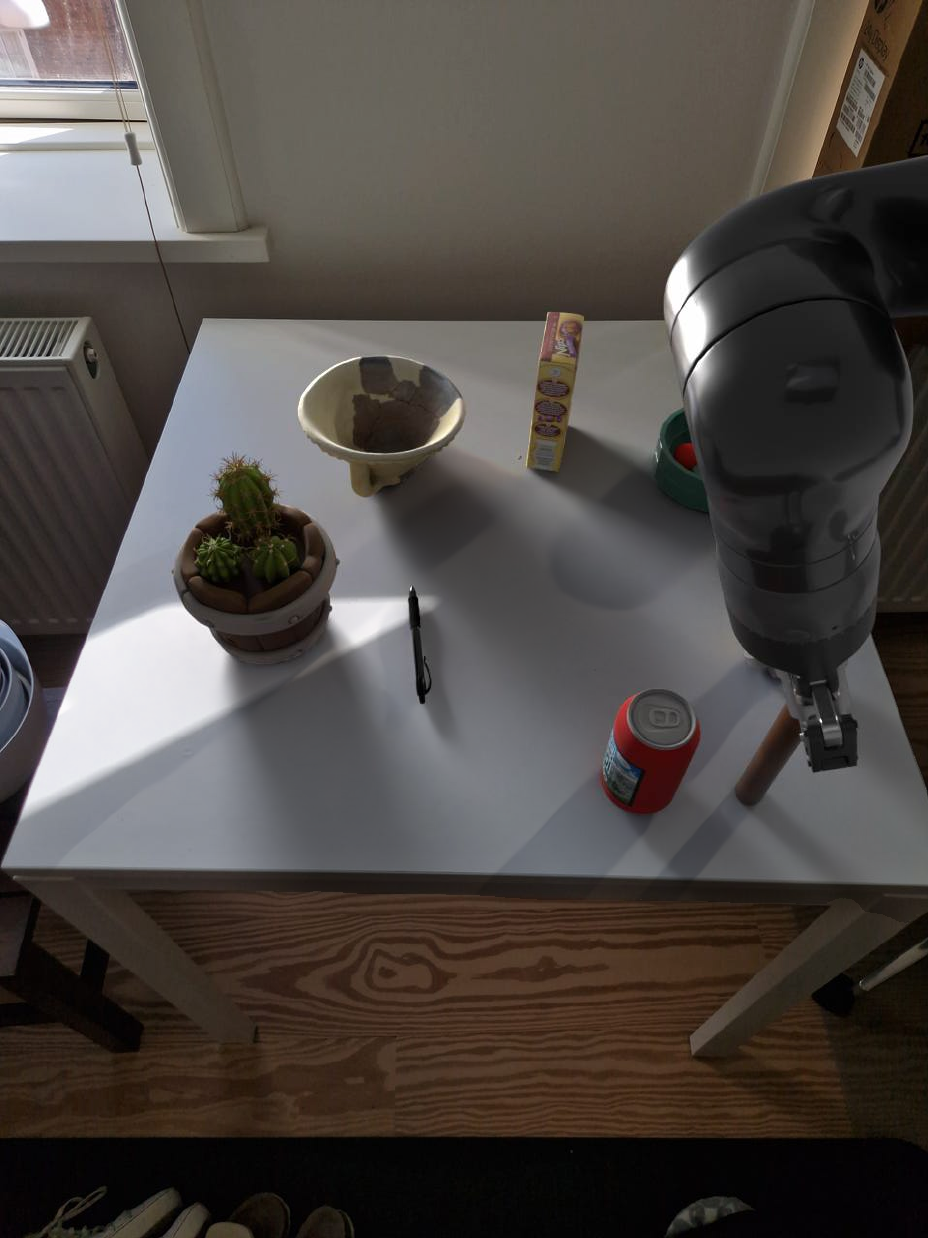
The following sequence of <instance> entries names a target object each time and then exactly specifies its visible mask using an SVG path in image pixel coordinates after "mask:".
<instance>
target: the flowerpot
mask: <svg viewBox="0 0 928 1238" xmlns="http://www.w3.org/2000/svg"><path fill="white" fill-rule="evenodd" d="M231 451H232V456H230V455H229V456H227V459H226V458H225V457H223V458H220V460H222V461H225V463H223V462H221V463H219V464H221V466H219V469H218V471H219V472H218V473H217V474H216V472H215V470H213V473H214V475H211V474H208V476H210V477H213V478H212V479H211V481H212V482H211V483H210V485H212V484H213V483H214V481H215V484H216V486H217V488H214V487H212V489H214V491H213V490H212V489H211V488H209V489H210V491H211V492H210V494H209V495H208V494H206V496H208V497H210V496H213V498H212V501H213V502H215V501H219V500H220V501H221V503H222V505H221V504H219V506H220V507H218V506H217V505H215V508H216V510H217V511H216V512H213V513H211V514H209V515H206V516H205V517H204V518H202V519H201V520H199V521H198V522H197V523H196V524H195V526H194V528H193V529H192V530H191V531H190V532H189V534H188V536H187V537H186V538H185V540H184V541H183V542H182V544H181V546H180V547H179V549H178V551H177V554H176V556H175V560H174V565H173V568H172V569H171V573H172V575H173V583H174V587H175V589H176V592H177V595H178V597H179V600H180V602H181V604H182V606H183V607H184V609H185V610H186V611H187V612H188V614H189V615H191V616H192V617H193V619H195V620H196V621H197V622H198V623H200V624H201V625H203V626H204V627H207V628H208V629H209V632H210V634H211V636H212V637H213V639H214V640H215V641H216V643H218V645H219V646H220V647H221V648H222V649H223V650H224V651H225V652H226V653H228V654H229V656H232V658H233V659H234V660H241V661H242V662H245V663H250V664H259V665H268V664H269V665H270V664H281V663H284V662H286V661H289V660H292V659H294V658H297V657H299V656H300V655H302V654H304V653H305V652H306V651H308V650H309V649H310V648H311V647H313V645H315V644H316V642H317V641H318V640H319V638H320V637H321V636H322V634H323V632H324V630H325V628H326V626H327V624H328V621H329V618H330V613H331V612H332V611H333V606H332V605H331V596H330V593H329V592H330V590H331V588H332V586H333V583H334V581H335V578H336V575H337V571H338V566H339V565H340V563H341V560H340V559H339V558H338V557H337V555H336V550H335V547H334V545H333V542H332V541H331V538H330V536H329V534H328V532H327V531H326V530H325V528H324V527H323V525H322V524H321V523H320V522H319V521H318V520H317V519H316V518H314V517H313V516H312V515H311V514H309V513H308V512H306V511H304V510H302V509H299V508H297V507H293V506H289V505H286V504H284V503H280V501H279V500H278V501H277V498H281V495H282V493H284V491H283V490H280V491H279V490H278V485H277V484H275V486H276V487H275V488H272V484H270V483H272V481H273V482H277V483H278V481H277V480H275V479H274V477H276V476H277V474H275V473H271V471H272V470H271V469H270V468H269V474H268V472H267V471H266V470H265V469H263V468H262V467H261V466H262V464H261V462H262V461H263V458H261V459H260V460H259V461H257V460H256V459H255V458H254V457H252V459H253V462H251V457H248V459H249V460H248V461H247V460H246V459H247V455H248V453H246V454H245V455H244V454H243V455H242V456H241V458H240V455H238V456H237V453H235V455H234V451H233V450H231ZM229 457H230V459H231V460H229ZM222 467H223V468H222ZM259 468H260V469H262V470H263V471H264V473H263V472H261V470H260V469H259ZM217 482H218V483H217ZM280 494H281V495H280ZM274 500H275V501H274Z"/></svg>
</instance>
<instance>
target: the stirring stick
mask: <svg viewBox="0 0 928 1238" xmlns="http://www.w3.org/2000/svg"><path fill="white" fill-rule="evenodd" d="M793 689H794V693H795V694H796V695H799V696H801V695H800V694H799V693H798V691H797V689H796V687H795V686H794V688H793ZM813 719H816V715H813V716H811V717H810V718H809V720H813ZM800 733H802V731H801V727H800V722H799V720H798V719H795V718H793V717H791V716H790V713H789V710H788V707H787V703H786V702H785V704H784V705H783V707H782V709H781V710H780V712H779V713H778V715H777V717H776V718H775V720H774V722H773V723H772V725H771V727H770V728H769V730H768V731H767V733H766V735H765V736H764V738H763V740H762V741H761V743H760V745H759V746H758V748H757V750H756V751H755V753H754V754H753V756H752V758H751V760H750V761H749V763H748V765H747V766H746V768H745V769H744V771H743V773H742V774H741V776H740V778H739V779H738V781H737V783H736V784H735V786H734V795H735V797H736V799H737V800H738V801H739V802H740V804H743V805H745V806H755V805H758V804H759V803H760V802H761V801H762V799H763V798H764V796H765V795H766V793H767V792H768V790H770V788H771V786H772V784H773V783H774V782H775V780H776V779H777V777H778V776H779V775H780V773H781V771H782V770H783V769H784V767H785V766H786V765H787V763H788V762H789V760H790V758H791V757H792V755H793V754H794V753H795V751H796V750H797V748H798V747H799V745H800V744H801V742H802V741H801V737H800Z"/></svg>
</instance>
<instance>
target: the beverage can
mask: <svg viewBox="0 0 928 1238" xmlns="http://www.w3.org/2000/svg"><path fill="white" fill-rule="evenodd" d="M700 726H701V725H700V722H699V719H698V717H697V715H696V712H695V709H694V708H693V706H692V705H691V703H690V702H689V701H688V700H687V699H686V698H685V697H684V696H683V695H681V694H679V693H678V692H675V691H673V690H671V689H669V688H661V687H652V688H647V689H644V690H643V691H640V692H639V693H636V694H634V695H631V697H629V698H628V699H626V700H625V701H624V702H623V703H622V705H620V707H619V709H618V712H617V714H616V717H615V720H614V723H613V726H612V729H611V733H610V736H609V740H608V743H607V746H606V750H605V754H604V757H603V760H602V765H601V769H600V783H601V786H602V789H603V791H604V793H605V796H606V798H608V800H610V801H611V803H612V804H614V805H615V806H616V807H618V808H619V809H620V810H623V811H624V812H627V813H630V814H633V815H639V816H641V815H642V816H644V815H645V816H646V815H653V814H655V813H658V812H660V811H662V810H663V809H665V808H666V807H667V806H668V805H669V804H671V802H672V801H673V799H674V797H675V795H676V793H677V791H678V790H679V788H680V785H681V783H682V781H683V779H684V778H685V775H686V773H687V771H688V769H689V767H690V765H691V762H692V761H693V758H694V757H695V753H696V751H697V749H698V747H699V745H700V741H701V736H702V735H701V734H702V731H701V727H700Z"/></svg>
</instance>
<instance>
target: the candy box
mask: <svg viewBox="0 0 928 1238" xmlns="http://www.w3.org/2000/svg"><path fill="white" fill-rule="evenodd" d="M584 320H585V317H584V315H581V314H577V313H568V312H557V311H556V312H555V311H549V312H547V315H546V320H545V321H546V322H545V328H544V333H543V339H542V346H541V349H540V350H541V351H540V354H539V359H538V366H537V374H536V383H535V389H534V390H535V391H534V398H533V405H532V406H533V407H532V415H531V422H530V423H531V424H530V432H529V438H528V439H529V441H528V448H527V456H526V462H525V463H526V464H525V467H526V468H527V469H534V470H541V471H548V472H555V473H559V472H560V469H561V464H562V458H563V453H564V449H565V448H564V447H565V442H566V437H567V433H568V425H569V420H570V416H571V409H572V403H573V397H574V392H575V391H574V390H575V384H576V377H577V371H578V365H579V358H580V351H581V343H582V336H583V329H584V322H585V321H584Z"/></svg>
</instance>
